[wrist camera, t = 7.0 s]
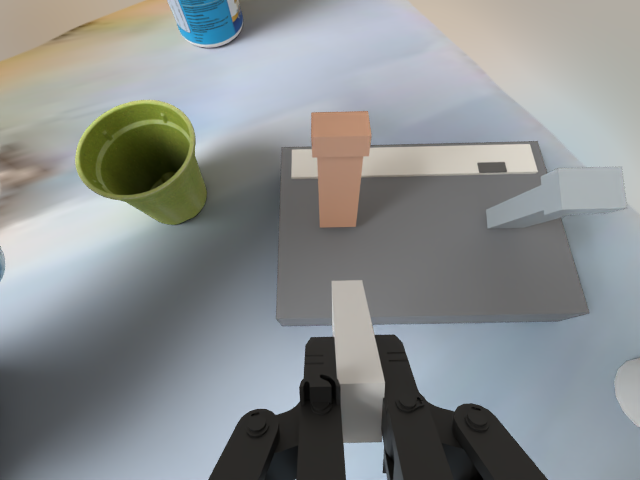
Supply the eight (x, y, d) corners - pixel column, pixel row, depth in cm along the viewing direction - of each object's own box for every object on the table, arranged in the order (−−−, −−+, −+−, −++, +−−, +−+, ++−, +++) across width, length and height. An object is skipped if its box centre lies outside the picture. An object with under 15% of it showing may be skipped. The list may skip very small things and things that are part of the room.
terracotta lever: (316, 231, 29) (311, 137, 21) (316, 209, 30) (311, 112, 22) (359, 230, 29) (371, 135, 21) (357, 208, 30) (367, 111, 22)
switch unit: (282, 326, 31) (275, 317, 26) (286, 170, 37) (281, 144, 32) (557, 321, 30) (593, 312, 26) (516, 165, 36) (540, 138, 32)
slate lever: (484, 233, 29) (562, 209, 19) (482, 205, 29) (557, 168, 20) (527, 232, 29) (627, 208, 19) (525, 204, 29) (621, 166, 20)
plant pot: (237, 170, 37) (211, 111, 29) (203, 251, 33) (164, 210, 25) (156, 152, 38) (110, 90, 30) (116, 229, 34) (51, 183, 26)
